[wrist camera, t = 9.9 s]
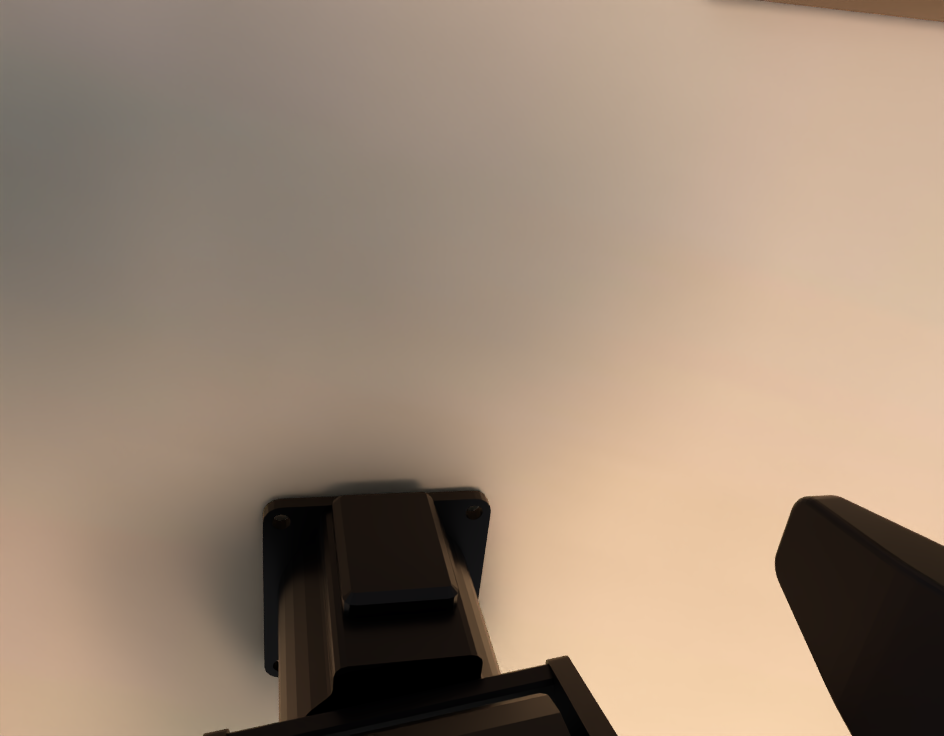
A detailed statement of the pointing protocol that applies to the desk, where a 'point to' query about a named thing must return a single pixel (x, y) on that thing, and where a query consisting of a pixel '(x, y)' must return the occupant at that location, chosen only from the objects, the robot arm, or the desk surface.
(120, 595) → the desk surface
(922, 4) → the dock board
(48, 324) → the desk surface
